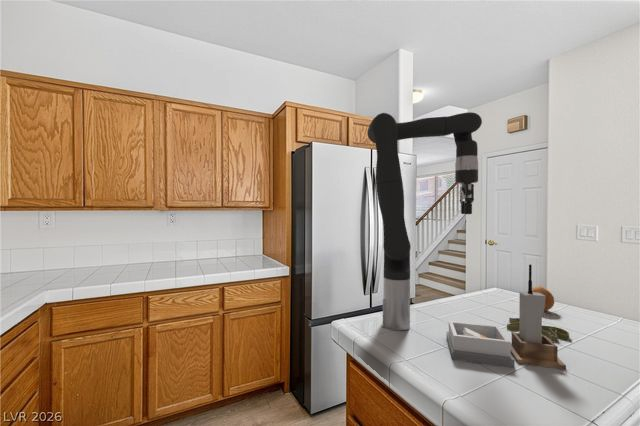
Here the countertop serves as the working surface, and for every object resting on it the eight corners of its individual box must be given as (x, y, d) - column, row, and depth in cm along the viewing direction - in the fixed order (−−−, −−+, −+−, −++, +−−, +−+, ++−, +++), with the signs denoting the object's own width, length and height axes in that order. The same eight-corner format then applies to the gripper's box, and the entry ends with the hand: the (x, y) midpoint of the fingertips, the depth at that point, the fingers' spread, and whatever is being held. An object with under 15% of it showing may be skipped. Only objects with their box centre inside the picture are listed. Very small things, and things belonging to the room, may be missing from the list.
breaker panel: (452, 359, 83) (452, 337, 83) (446, 337, 98) (446, 319, 98) (514, 367, 79) (514, 344, 79) (498, 343, 93) (498, 324, 93)
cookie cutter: (500, 328, 106) (500, 323, 106) (512, 321, 114) (512, 315, 114) (565, 346, 93) (565, 339, 93) (573, 335, 101) (573, 329, 101)
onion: (520, 306, 131) (520, 283, 131) (545, 307, 130) (545, 284, 130) (532, 313, 121) (533, 289, 121) (560, 315, 120) (560, 290, 120)
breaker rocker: (464, 336, 87) (467, 331, 87) (462, 331, 91) (464, 326, 91) (490, 348, 85) (492, 343, 85) (486, 342, 89) (488, 338, 89)
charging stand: (517, 363, 81) (517, 344, 81) (505, 345, 92) (505, 329, 92) (566, 369, 78) (566, 350, 78) (547, 350, 88) (547, 333, 88)
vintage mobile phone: (545, 356, 83) (546, 265, 83) (525, 355, 84) (526, 265, 84) (538, 350, 86) (538, 263, 86) (519, 349, 87) (519, 262, 87)
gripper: (453, 172, 118) (452, 214, 118) (458, 167, 104) (457, 214, 104) (474, 171, 116) (473, 214, 116) (482, 166, 102) (481, 214, 102)
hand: (466, 214), depth 110 cm, fingers open, 8 cm apart
